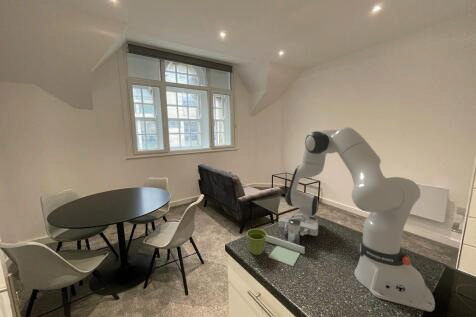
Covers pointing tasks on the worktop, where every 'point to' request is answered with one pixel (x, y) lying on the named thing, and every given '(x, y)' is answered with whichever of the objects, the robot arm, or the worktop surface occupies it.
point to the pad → (284, 255)
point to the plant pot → (256, 240)
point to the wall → (285, 244)
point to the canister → (294, 231)
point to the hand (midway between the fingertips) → (293, 231)
